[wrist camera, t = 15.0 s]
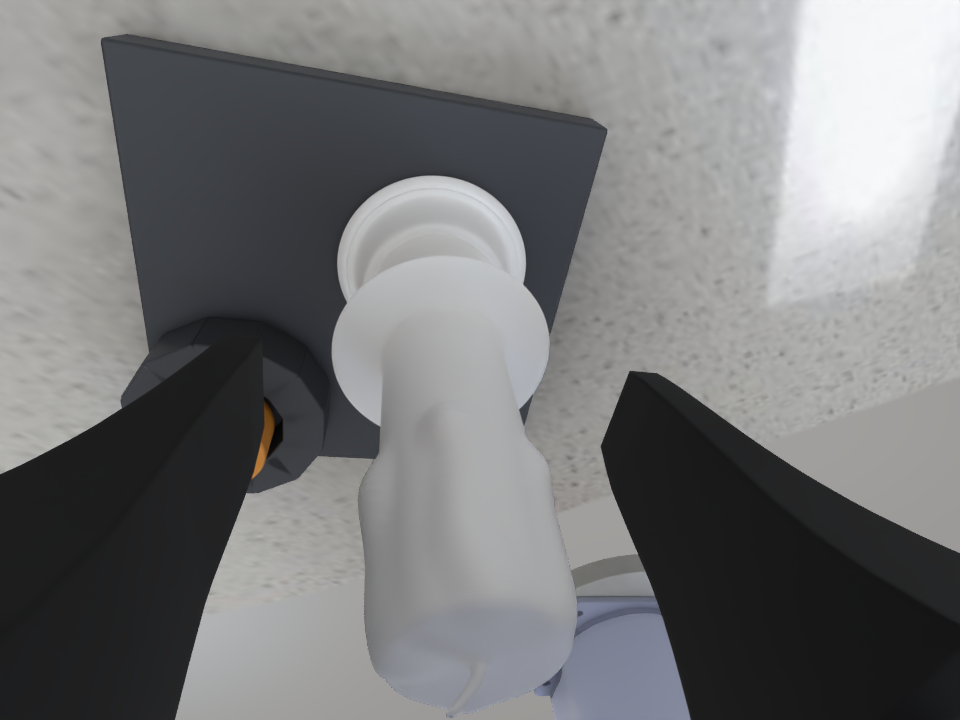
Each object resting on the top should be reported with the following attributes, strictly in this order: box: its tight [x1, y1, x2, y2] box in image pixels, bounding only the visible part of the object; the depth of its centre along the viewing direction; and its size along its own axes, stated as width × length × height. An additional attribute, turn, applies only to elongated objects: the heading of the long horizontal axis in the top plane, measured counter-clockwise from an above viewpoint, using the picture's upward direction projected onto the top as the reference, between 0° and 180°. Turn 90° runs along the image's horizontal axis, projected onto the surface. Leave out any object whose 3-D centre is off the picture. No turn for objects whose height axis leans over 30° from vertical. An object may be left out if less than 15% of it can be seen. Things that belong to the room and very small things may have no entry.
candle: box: [332, 176, 577, 718], centre depth 11 cm, size 5×5×12 cm
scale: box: [101, 34, 607, 493], centre depth 16 cm, size 12×12×3 cm
